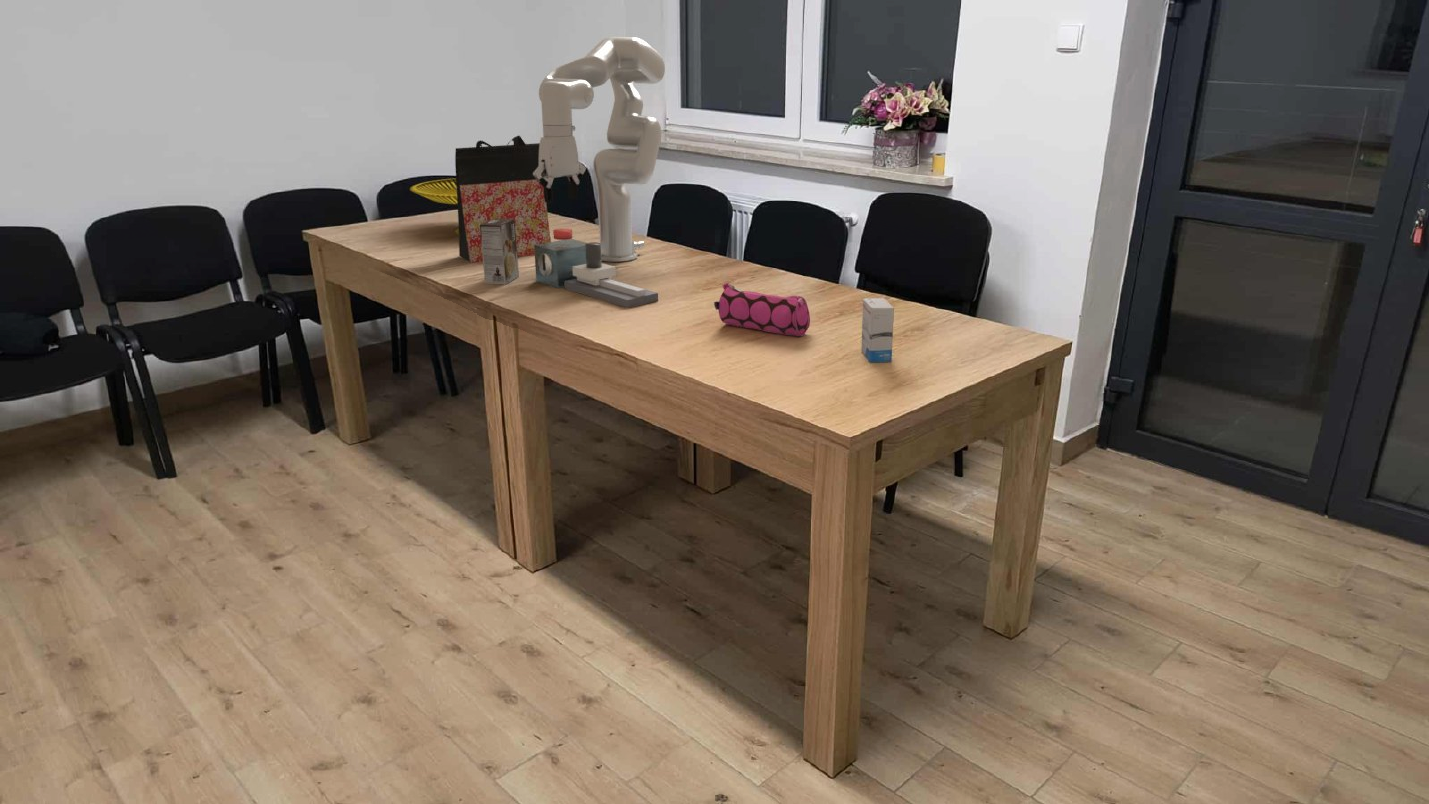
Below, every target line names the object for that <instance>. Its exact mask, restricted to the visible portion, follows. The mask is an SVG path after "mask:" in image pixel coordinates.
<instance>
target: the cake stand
mask: <svg viewBox="0 0 1429 804" xmlns="http://www.w3.org/2000/svg"><path fill="white" fill-rule="evenodd" d="M409 190H410V192H412V193H414V194H417V195H420V196H421V197H423V198H426V199H428V200H430V201H432V202H436V203H438V204H439V203H441V204H448V205H458V203H457V185H456V177H455V178H446V179H442V178H441V179H437V180H430V181H424V182H420V183H417V184H415V185H412V186H410V188H409ZM454 232H455V233H456V234H457V235H459V228H457V229H455V231H454Z"/></svg>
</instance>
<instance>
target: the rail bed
mask: <svg viewBox="0 0 1429 804" xmlns="http://www.w3.org/2000/svg"><path fill="white" fill-rule="evenodd" d="M599 282H600V285H597V286H595V285H591V284H588V283H585V282H581V281H578V280H577V279H572V280H567V281H564V285H565V287H564V289H565V290H568V291H571V292H575V293H578V294H581V295H585V296H588V297H591V298H594V299H597V300H600V301H603V302H607V303H609V304H610V303H611V304H613V305H616V306H619V307H620V306H621V307H623V308H627V309H629V308H630V309H631V308H633V307H637V306H642V305H646V304H650V303H654V301H655V302H658V301H659V292H656V291H653V290H649V289H645V288H642V287H639V286H635V285H632V284H628V283H625V282H621V281H617V280H614V279H612V280H610V279H607V278H604V279H599Z"/></svg>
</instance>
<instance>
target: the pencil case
mask: <svg viewBox="0 0 1429 804" xmlns="http://www.w3.org/2000/svg"><path fill="white" fill-rule="evenodd" d="M722 288H723V291H722V293H721V295H720V296H719V301H714V302H713V305H714V308H715V310H718V316H719V319H720V320H721V322H722V323H723V324H727V325H729V326H731V325H734V326H733V327H739V326H741V327H740V328H744V327H745V328H744V329H755V330H759V331H764V332H767V333H772V334H777V335H783V336H784V335H785V336H797V337H803V336H804V335H805V334H806V333H807V331H808V329H809V327H810V325H811V316H810V310H809V307H808V303H807V300H806V299H805V298H804V297H802V296H797V295H791V296H778V295H771V294H765V293H761V292H755V291H747V290H746V291H745V290H742V289H739V288H738V287H735V286H734V285H733V284H730V282H729V281H728V282H725V283H723V284H722Z"/></svg>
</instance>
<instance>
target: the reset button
mask: <svg viewBox="0 0 1429 804" xmlns="http://www.w3.org/2000/svg"><path fill="white" fill-rule="evenodd" d="M552 232H553V234H552V235H553V239H554V240H556V241H559V240H567V239H573V230H572V229H571V228H556V229H554V230H553V231H552Z"/></svg>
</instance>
